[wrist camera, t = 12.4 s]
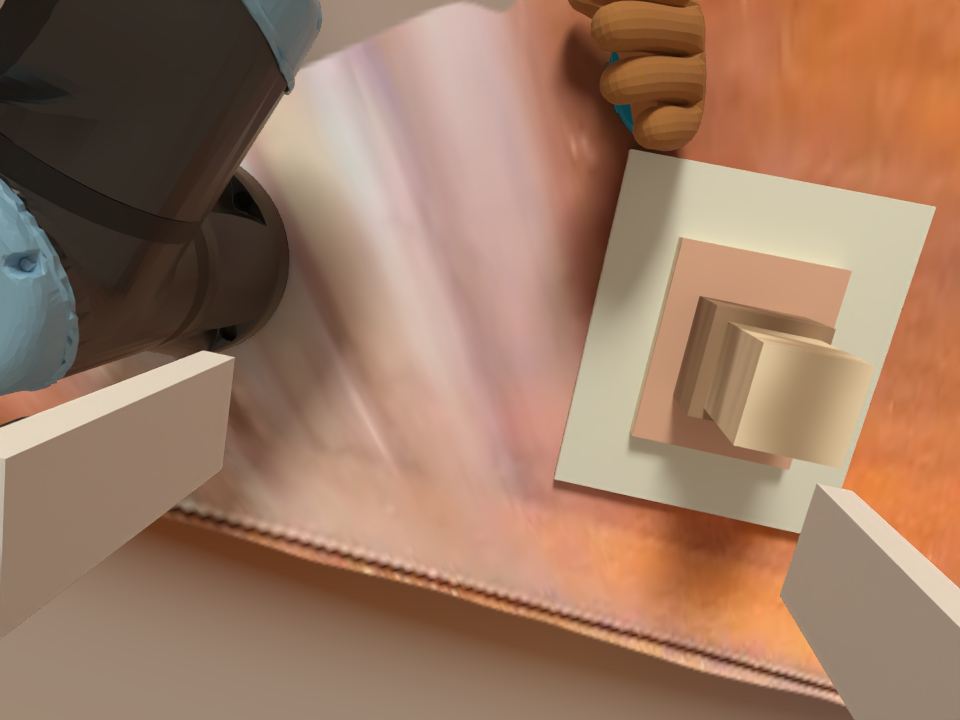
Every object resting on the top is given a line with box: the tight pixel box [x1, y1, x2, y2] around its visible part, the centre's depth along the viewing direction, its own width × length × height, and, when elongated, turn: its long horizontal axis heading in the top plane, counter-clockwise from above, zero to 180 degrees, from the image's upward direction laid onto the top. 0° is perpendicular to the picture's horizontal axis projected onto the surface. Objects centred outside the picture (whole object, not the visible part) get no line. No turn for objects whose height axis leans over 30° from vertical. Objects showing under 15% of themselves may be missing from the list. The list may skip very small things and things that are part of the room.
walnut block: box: [673, 296, 836, 421], centre depth 43 cm, size 7×7×5 cm
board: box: [554, 149, 936, 533], centre depth 47 cm, size 20×24×2 cm
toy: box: [568, 0, 706, 151], centre depth 38 cm, size 12×7×15 cm, turn 13°
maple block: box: [704, 321, 876, 469], centre depth 37 cm, size 6×6×7 cm
